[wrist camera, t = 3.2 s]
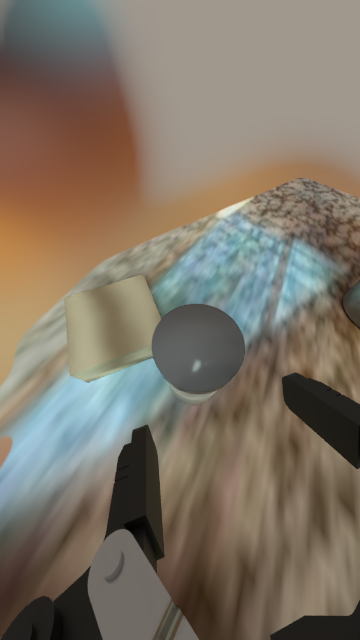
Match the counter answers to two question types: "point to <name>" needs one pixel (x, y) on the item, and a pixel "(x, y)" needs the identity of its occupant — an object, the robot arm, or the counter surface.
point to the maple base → (110, 328)
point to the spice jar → (197, 351)
